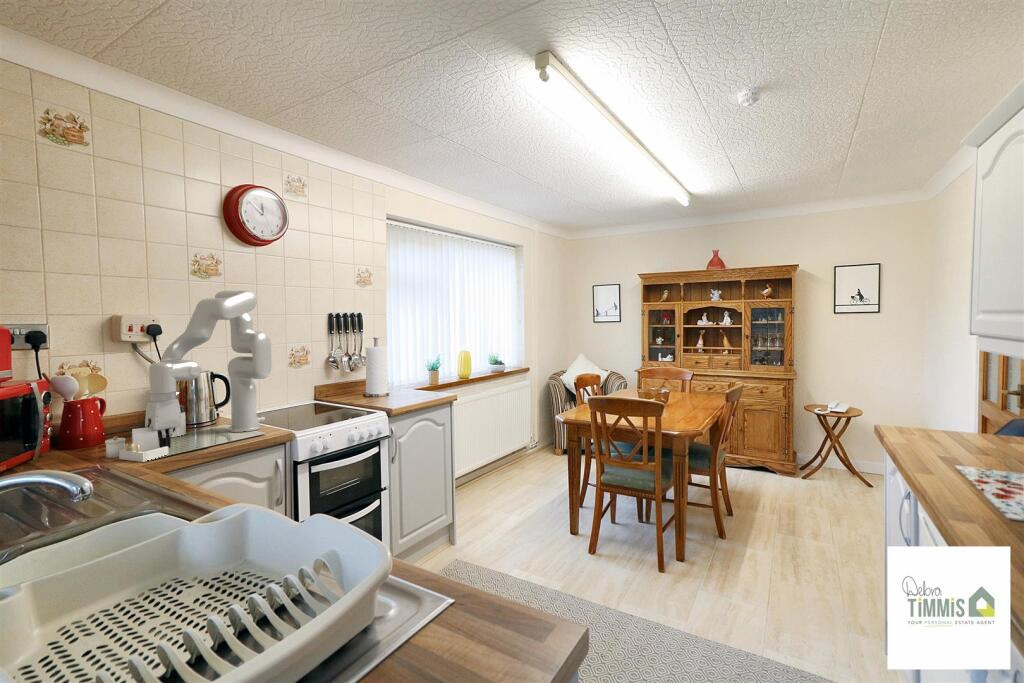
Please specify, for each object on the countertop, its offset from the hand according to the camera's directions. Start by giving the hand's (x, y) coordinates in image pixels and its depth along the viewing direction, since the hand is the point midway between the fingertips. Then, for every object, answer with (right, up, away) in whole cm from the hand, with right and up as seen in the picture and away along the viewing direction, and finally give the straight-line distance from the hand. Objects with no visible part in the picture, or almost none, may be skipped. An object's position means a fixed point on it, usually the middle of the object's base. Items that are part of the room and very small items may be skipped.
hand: (165, 447), depth 168 cm
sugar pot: (-13, -2, -5) cm, 14 cm away
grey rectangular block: (-2, -2, -6) cm, 7 cm away
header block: (-2, -2, -7) cm, 7 cm away
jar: (-14, -1, +23) cm, 27 cm away
